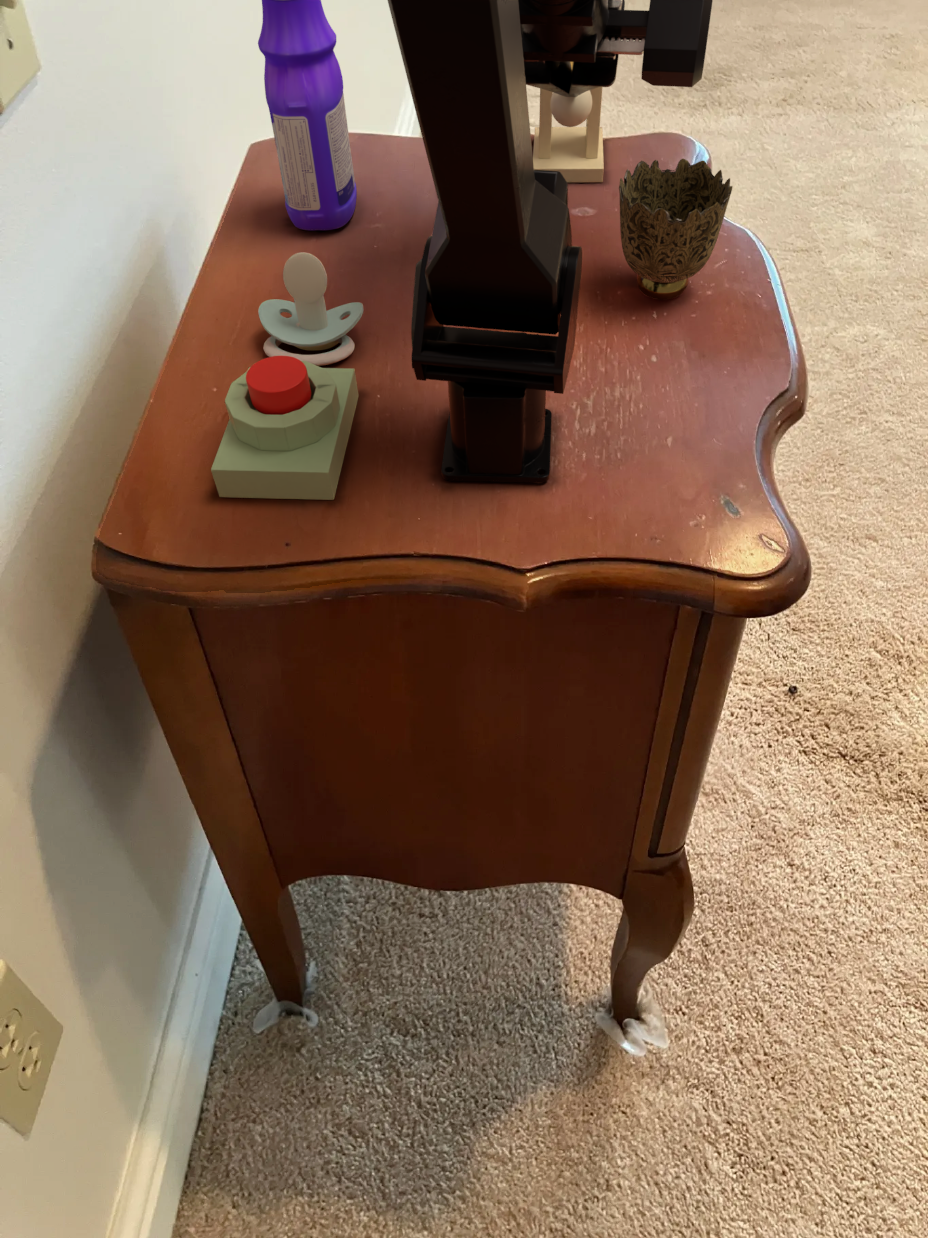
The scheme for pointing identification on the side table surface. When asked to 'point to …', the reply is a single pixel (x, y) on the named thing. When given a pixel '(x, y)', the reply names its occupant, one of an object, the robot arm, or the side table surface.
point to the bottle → (308, 113)
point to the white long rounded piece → (571, 108)
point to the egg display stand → (570, 143)
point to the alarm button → (278, 385)
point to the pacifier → (308, 315)
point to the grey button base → (287, 441)
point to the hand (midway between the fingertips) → (571, 89)
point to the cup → (670, 223)
